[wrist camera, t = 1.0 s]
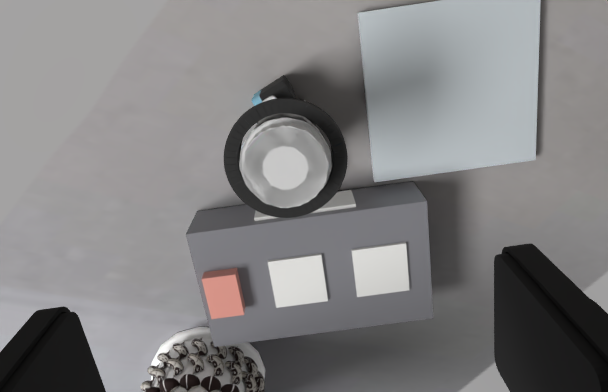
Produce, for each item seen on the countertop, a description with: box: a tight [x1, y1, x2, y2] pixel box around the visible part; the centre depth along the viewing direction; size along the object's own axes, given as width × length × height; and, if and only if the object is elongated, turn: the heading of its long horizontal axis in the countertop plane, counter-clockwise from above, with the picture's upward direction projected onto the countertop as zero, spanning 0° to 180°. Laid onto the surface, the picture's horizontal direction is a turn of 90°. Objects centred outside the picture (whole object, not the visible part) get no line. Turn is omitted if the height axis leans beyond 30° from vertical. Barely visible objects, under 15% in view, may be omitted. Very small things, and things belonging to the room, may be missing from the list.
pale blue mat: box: [357, 0, 541, 182], centre depth 29 cm, size 10×10×1 cm
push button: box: [224, 75, 347, 218], centre depth 25 cm, size 7×5×10 cm
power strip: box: [186, 181, 433, 347], centre depth 30 cm, size 14×8×4 cm, turn 98°
